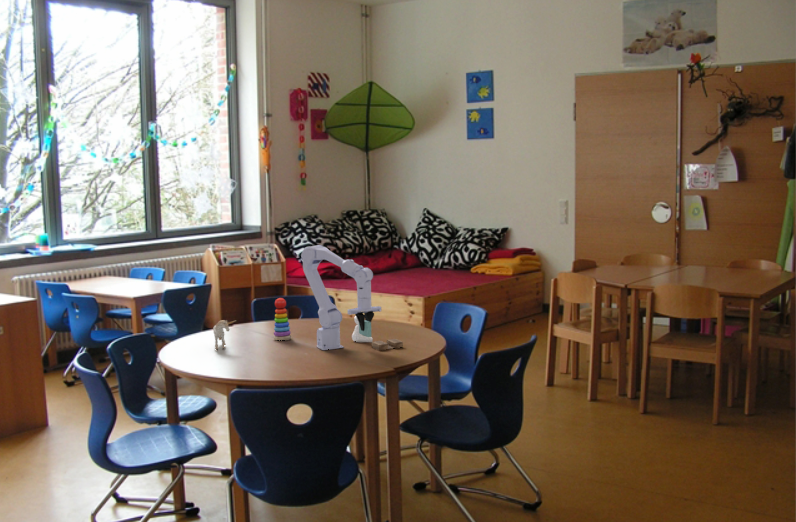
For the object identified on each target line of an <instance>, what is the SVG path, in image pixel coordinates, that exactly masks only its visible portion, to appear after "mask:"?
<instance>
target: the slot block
mask: <svg viewBox="0 0 796 522" xmlns="http://www.w3.org/2000/svg"><path fill="white" fill-rule="evenodd" d="M372 347H373V348H372ZM400 347H403V348H404V342H403V341H402V340H399V339H397V338H392V339H386V342H384V341H382V340H375V341H372V342H371V348H372V349H374V348H375V349H374V350H376V349H377V350H376V351H378V350H382V351H387V350H386V349H389V350H394V349H393V348H397V349H401V348H400Z"/></svg>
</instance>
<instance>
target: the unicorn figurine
mask: <svg viewBox="0 0 796 522" xmlns="http://www.w3.org/2000/svg"><path fill="white" fill-rule="evenodd" d="M235 322H237V320H233V321H228V320H227V319H226V320H225V319H223V320H221V319H220V320H219V321H218V322H217V323H216V324H215V325H214V326H213V328H212V329H213V334H214V343H215V345H214V350H215V349H216V350H217V349H218V350H219V344H218V341H221V345H222V349H223V348H225V349H226V346H225V347H224V345H226V340H225V335H226V334H225V332H230V327H229V325H230V324H233V323H235ZM224 329H225V331H224ZM216 350H215V351H216ZM218 350H217V351H218Z"/></svg>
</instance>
